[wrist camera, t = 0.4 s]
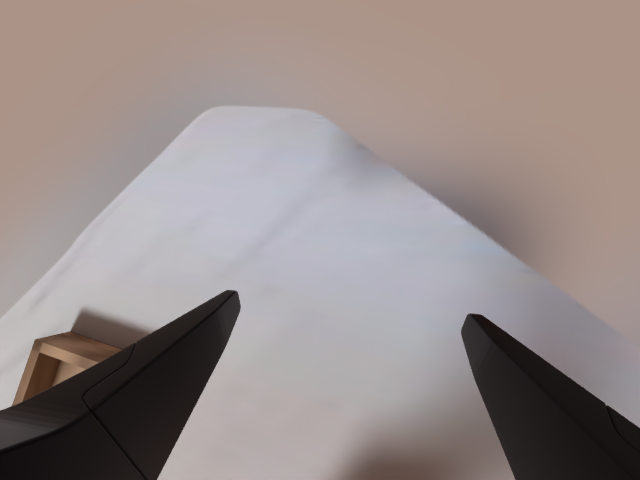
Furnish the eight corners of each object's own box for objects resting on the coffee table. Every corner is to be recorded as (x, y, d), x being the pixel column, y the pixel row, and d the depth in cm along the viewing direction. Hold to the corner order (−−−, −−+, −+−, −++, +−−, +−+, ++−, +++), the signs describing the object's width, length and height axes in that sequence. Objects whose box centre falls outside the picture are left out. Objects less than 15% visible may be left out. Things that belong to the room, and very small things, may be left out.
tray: (175, 367, 25) (152, 381, 22) (135, 506, 23) (104, 541, 20) (69, 331, 26) (35, 339, 24) (27, 457, 25) (-16, 483, 22)
